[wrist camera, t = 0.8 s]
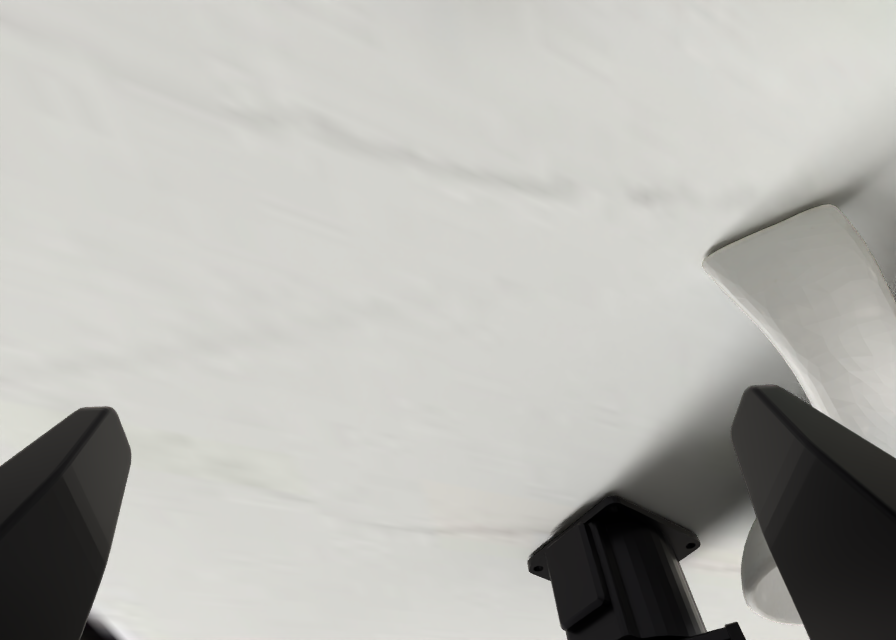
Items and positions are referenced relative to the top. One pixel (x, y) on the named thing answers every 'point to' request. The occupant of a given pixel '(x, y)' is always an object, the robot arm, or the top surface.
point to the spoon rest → (815, 344)
